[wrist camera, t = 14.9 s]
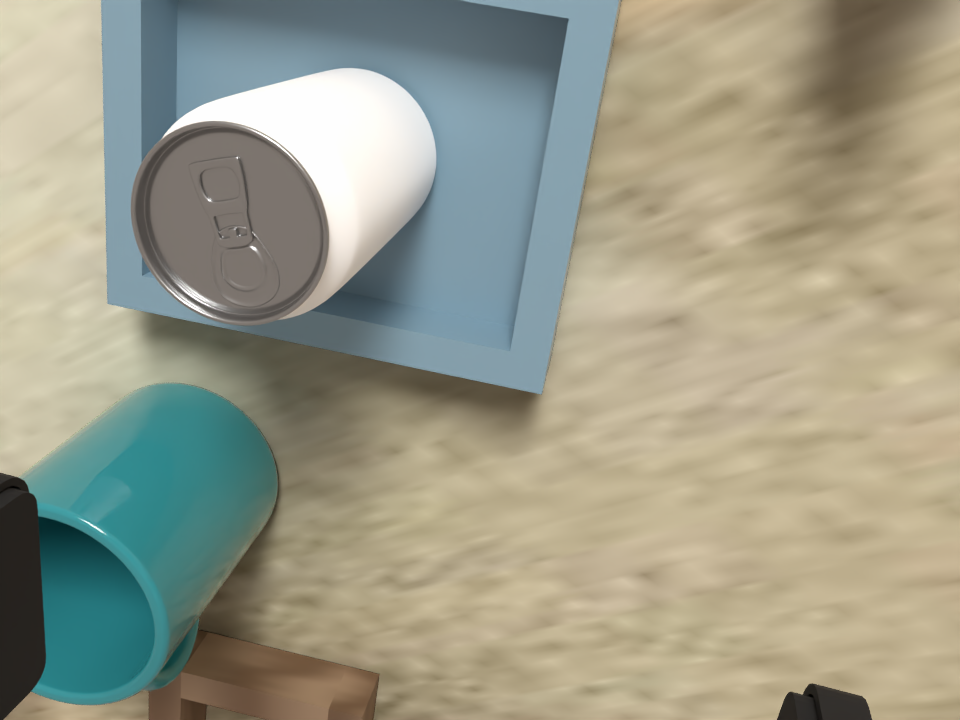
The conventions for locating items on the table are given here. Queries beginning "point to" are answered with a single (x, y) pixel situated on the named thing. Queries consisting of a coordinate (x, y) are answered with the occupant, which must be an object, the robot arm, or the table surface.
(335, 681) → the holder
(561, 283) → the tray
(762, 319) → the table surface
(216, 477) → the cup
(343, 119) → the can
